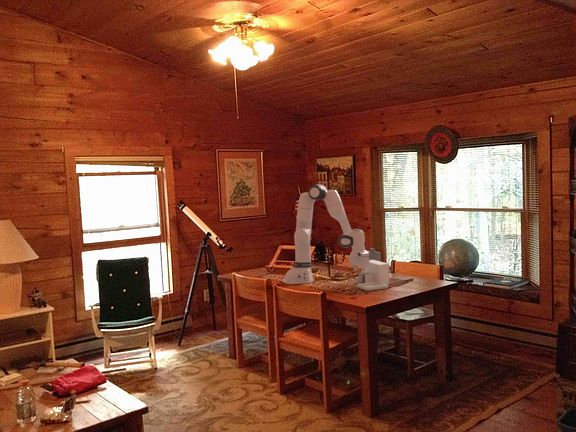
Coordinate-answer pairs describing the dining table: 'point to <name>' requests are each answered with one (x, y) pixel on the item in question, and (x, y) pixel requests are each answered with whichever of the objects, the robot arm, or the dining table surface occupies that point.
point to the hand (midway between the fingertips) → (359, 272)
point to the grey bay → (377, 272)
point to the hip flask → (374, 255)
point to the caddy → (361, 278)
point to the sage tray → (372, 286)
